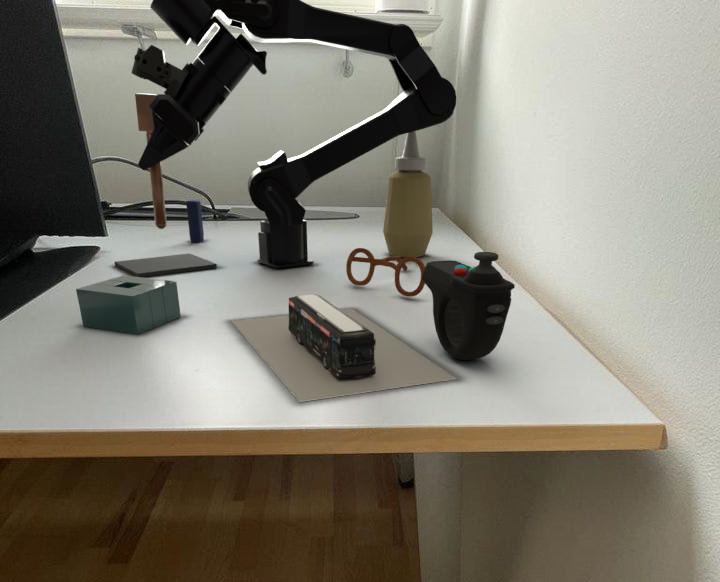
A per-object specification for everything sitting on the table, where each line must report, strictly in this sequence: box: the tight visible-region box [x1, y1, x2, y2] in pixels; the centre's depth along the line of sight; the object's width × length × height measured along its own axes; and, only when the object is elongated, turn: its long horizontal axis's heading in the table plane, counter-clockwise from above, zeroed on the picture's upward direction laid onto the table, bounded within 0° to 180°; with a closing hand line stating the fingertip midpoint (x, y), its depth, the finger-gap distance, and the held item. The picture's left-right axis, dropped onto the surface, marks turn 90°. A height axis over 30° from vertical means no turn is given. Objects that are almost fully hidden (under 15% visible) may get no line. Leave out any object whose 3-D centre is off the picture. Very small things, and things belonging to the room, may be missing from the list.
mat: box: [114, 253, 218, 278], centre depth 99 cm, size 12×10×1 cm
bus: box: [230, 293, 457, 403], centre depth 65 cm, size 14×25×4 cm, turn 22°
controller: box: [422, 251, 516, 361], centre depth 62 cm, size 4×12×10 cm, turn 19°
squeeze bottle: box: [382, 131, 434, 259], centre depth 104 cm, size 8×8×18 cm
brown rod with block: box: [134, 93, 168, 230], centre depth 92 cm, size 3×2×17 cm, turn 78°
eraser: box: [185, 199, 205, 243], centre depth 116 cm, size 2×2×7 cm
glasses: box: [345, 247, 426, 297], centre depth 88 cm, size 13×13×5 cm
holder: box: [75, 275, 182, 335], centre depth 72 cm, size 7×7×4 cm
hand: (141, 167), depth 92 cm, fingers closed on brown rod with block, 1 cm apart
